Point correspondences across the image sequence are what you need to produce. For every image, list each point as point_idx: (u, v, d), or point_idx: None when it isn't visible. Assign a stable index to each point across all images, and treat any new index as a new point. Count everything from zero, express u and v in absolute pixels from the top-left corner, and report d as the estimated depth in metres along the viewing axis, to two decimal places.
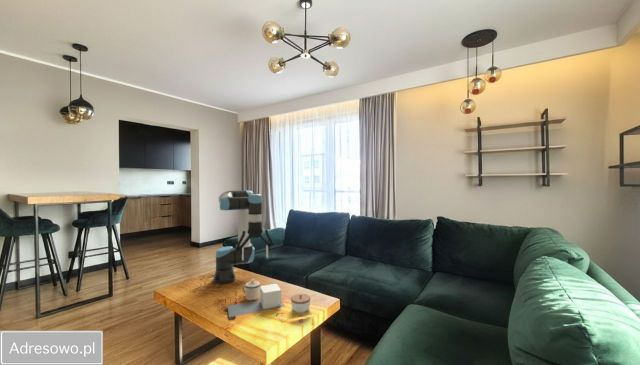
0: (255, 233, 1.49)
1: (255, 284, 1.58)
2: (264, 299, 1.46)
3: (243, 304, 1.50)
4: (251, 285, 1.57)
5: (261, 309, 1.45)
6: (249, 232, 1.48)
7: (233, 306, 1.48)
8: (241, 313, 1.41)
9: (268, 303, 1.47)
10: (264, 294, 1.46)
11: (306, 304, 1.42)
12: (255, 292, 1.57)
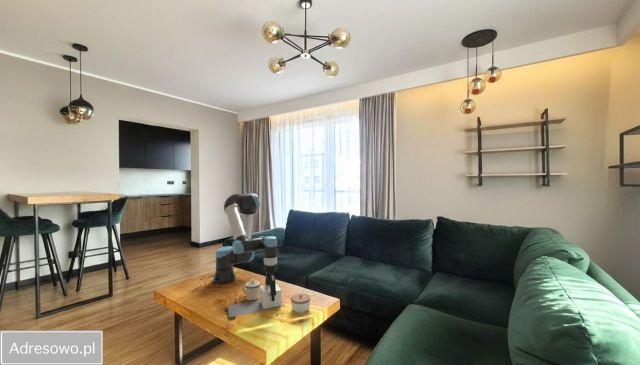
0: None
1: (255, 284, 1.58)
2: (264, 299, 1.46)
3: (243, 304, 1.50)
4: (251, 285, 1.57)
5: (261, 309, 1.45)
6: (267, 272, 1.54)
7: (233, 306, 1.48)
8: (241, 313, 1.41)
9: (268, 303, 1.47)
10: (264, 294, 1.46)
11: (306, 304, 1.42)
12: (255, 292, 1.57)
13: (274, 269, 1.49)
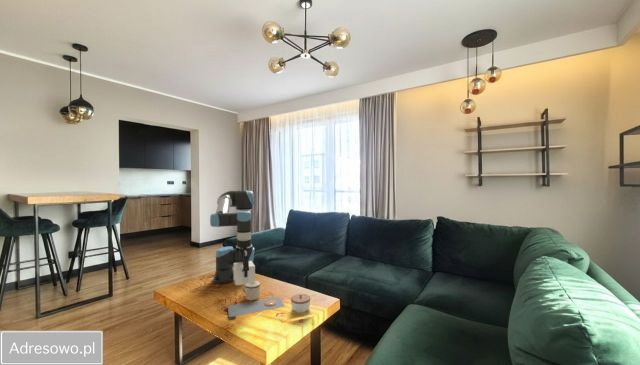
0: None
1: (255, 284, 1.58)
2: (236, 275, 1.40)
3: (243, 304, 1.50)
4: (251, 285, 1.57)
5: (261, 309, 1.45)
6: (241, 248, 1.48)
7: (233, 306, 1.48)
8: (241, 313, 1.41)
9: (241, 279, 1.41)
10: (236, 270, 1.40)
11: (306, 304, 1.42)
12: (255, 292, 1.57)
13: (247, 244, 1.43)
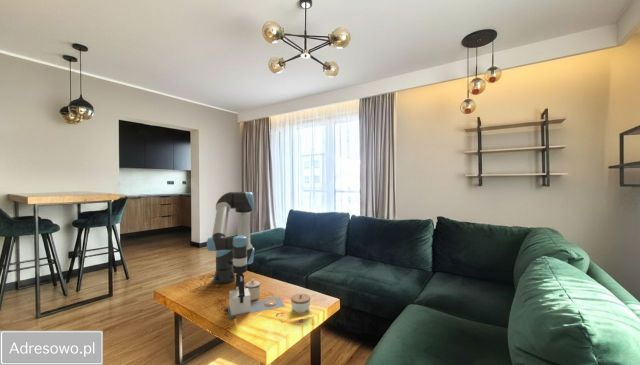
0: None
1: (255, 284, 1.58)
2: (232, 305, 1.39)
3: None
4: (251, 285, 1.57)
5: (261, 309, 1.45)
6: None
7: None
8: (241, 313, 1.41)
9: (236, 309, 1.40)
10: (232, 299, 1.39)
11: (306, 304, 1.42)
12: (255, 292, 1.57)
13: (243, 270, 1.43)
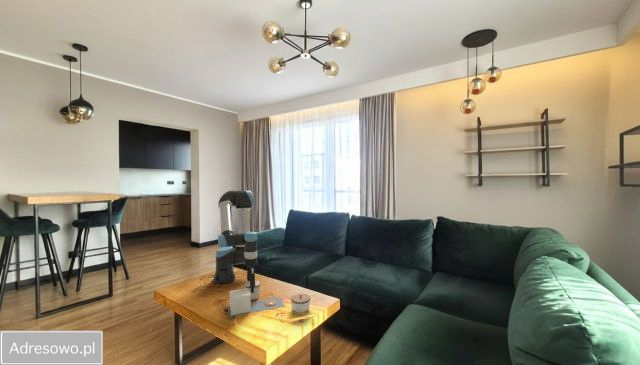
0: None
1: (255, 284, 1.59)
2: (232, 305, 1.39)
3: None
4: None
5: (261, 309, 1.45)
6: (248, 266, 1.63)
7: None
8: (241, 313, 1.41)
9: (236, 309, 1.40)
10: (232, 299, 1.39)
11: (306, 304, 1.42)
12: None
13: (254, 262, 1.58)
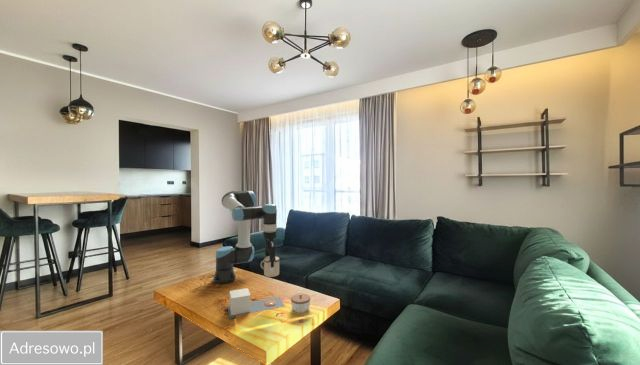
0: None
1: None
2: (232, 305, 1.39)
3: None
4: None
5: (261, 309, 1.45)
6: (266, 240, 1.54)
7: None
8: (241, 313, 1.41)
9: (236, 309, 1.40)
10: (232, 299, 1.39)
11: (306, 304, 1.42)
12: (274, 266, 1.49)
13: (273, 236, 1.49)
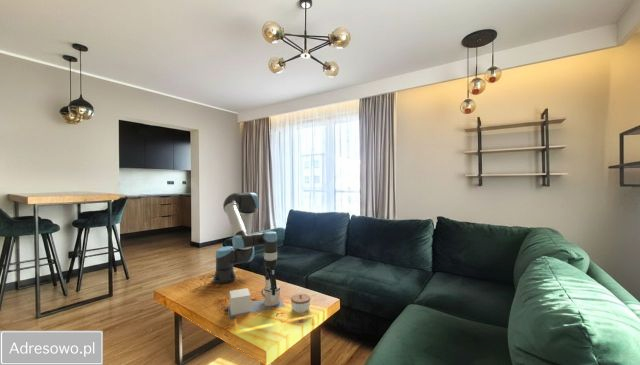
0: None
1: None
2: (232, 305, 1.39)
3: None
4: None
5: (261, 309, 1.45)
6: (267, 267, 1.54)
7: None
8: (241, 313, 1.41)
9: (236, 309, 1.40)
10: (232, 299, 1.39)
11: (306, 304, 1.42)
12: None
13: (274, 264, 1.49)
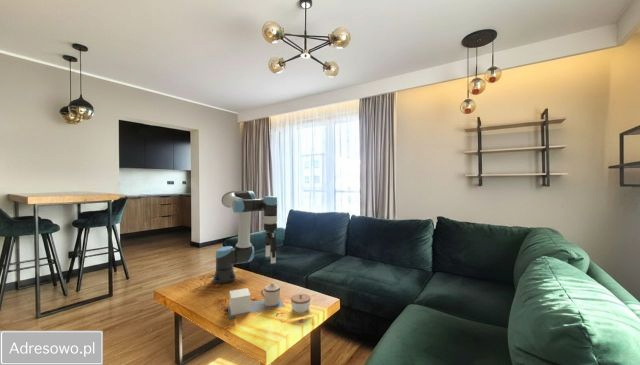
0: None
1: (275, 287, 1.50)
2: (232, 305, 1.39)
3: None
4: (271, 289, 1.49)
5: (261, 309, 1.45)
6: (267, 232, 1.54)
7: None
8: (241, 313, 1.41)
9: (236, 309, 1.40)
10: (232, 299, 1.39)
11: (306, 304, 1.42)
12: (275, 296, 1.49)
13: (274, 227, 1.49)
